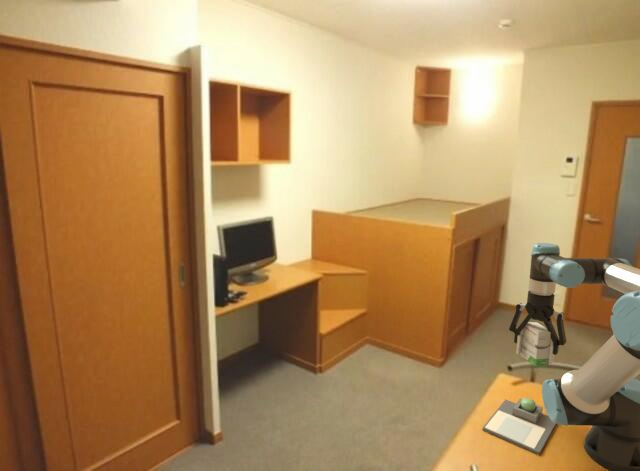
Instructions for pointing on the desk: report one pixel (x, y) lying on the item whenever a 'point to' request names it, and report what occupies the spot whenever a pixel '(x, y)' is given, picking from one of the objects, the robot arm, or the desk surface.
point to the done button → (528, 405)
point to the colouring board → (521, 426)
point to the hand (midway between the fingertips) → (534, 357)
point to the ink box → (536, 344)
